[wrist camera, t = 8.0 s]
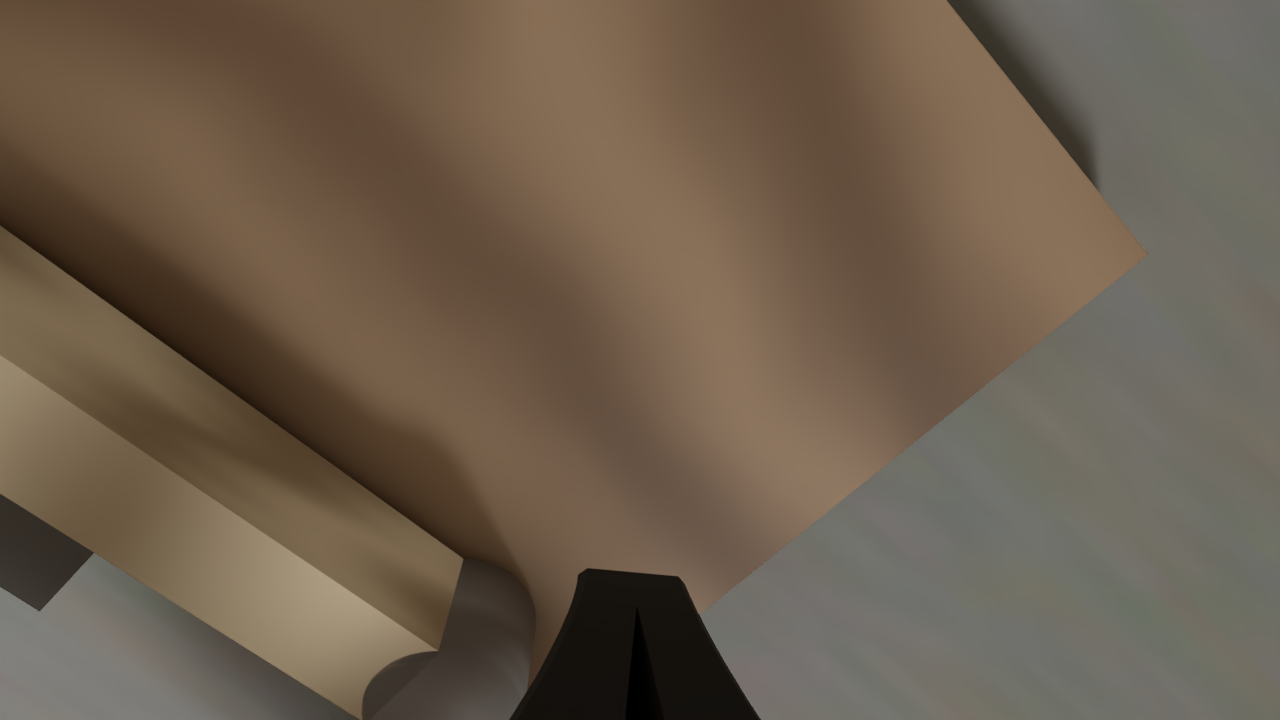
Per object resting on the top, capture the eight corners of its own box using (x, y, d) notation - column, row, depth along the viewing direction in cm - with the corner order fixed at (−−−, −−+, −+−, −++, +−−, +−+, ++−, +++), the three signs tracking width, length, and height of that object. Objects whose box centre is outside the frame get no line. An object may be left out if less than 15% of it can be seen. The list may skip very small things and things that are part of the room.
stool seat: (493, 733, 25) (465, 896, 20) (-217, 235, 19) (-471, 312, 15) (1103, 231, 20) (1245, 303, 15) (380, -665, 14) (267, -972, 9)
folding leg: (564, 612, 21) (556, 710, 18) (476, 693, 21) (454, 798, 19) (-29, 181, 17) (-160, 221, 14) (-110, 301, 17) (-246, 361, 15)
